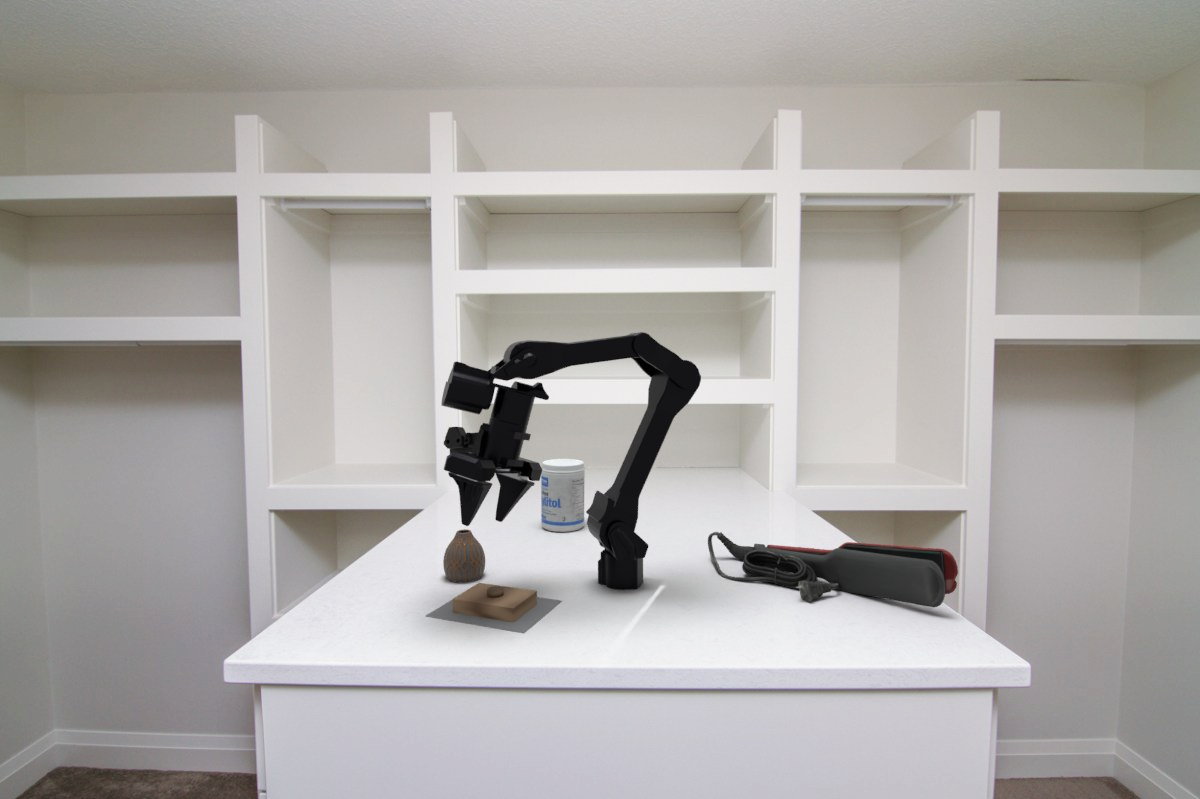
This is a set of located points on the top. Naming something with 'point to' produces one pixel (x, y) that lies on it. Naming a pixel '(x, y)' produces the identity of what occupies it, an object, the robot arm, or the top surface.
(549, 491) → the supplement tub
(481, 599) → the lid
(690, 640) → the top surface
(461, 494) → the robot arm
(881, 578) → the hair straightener
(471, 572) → the vase
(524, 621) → the mat
